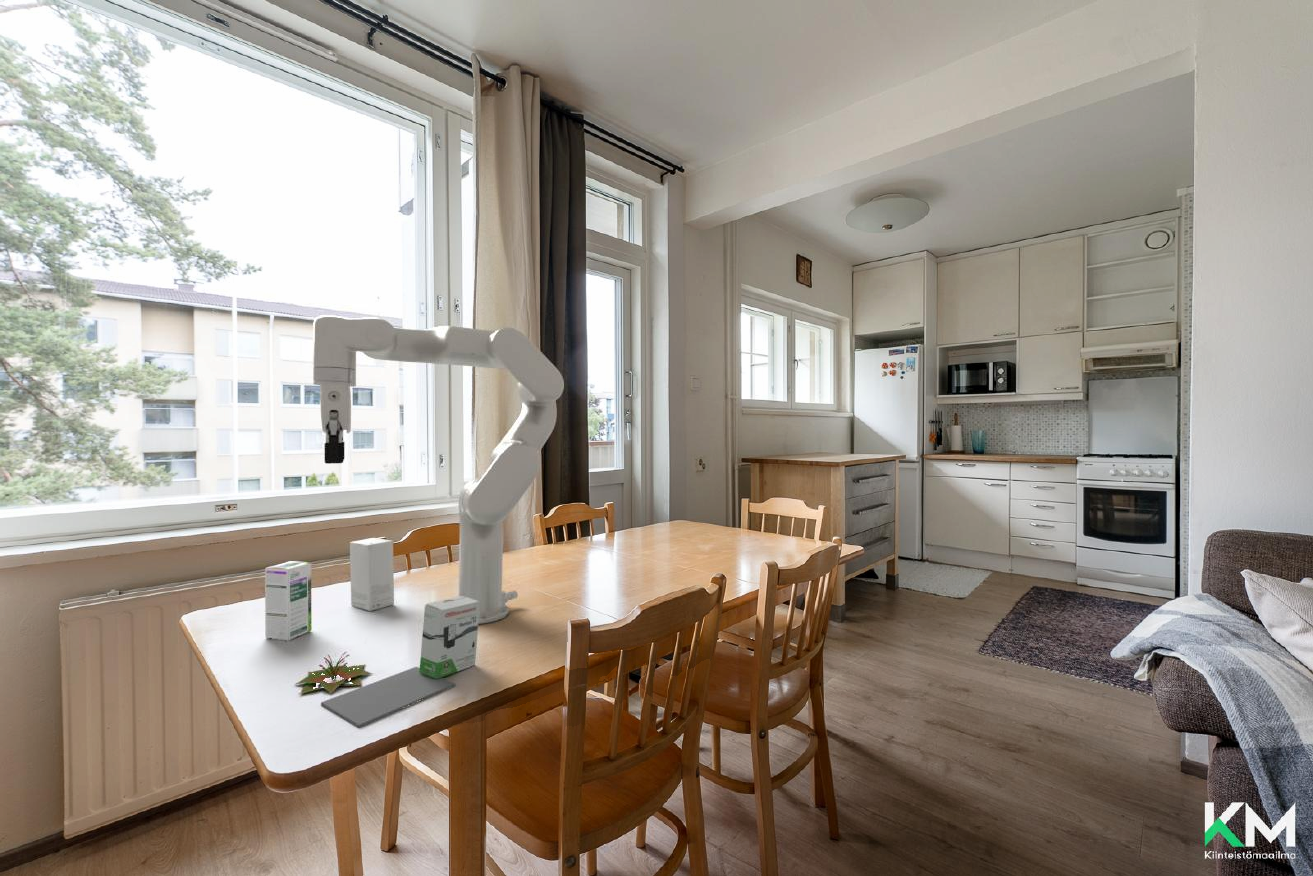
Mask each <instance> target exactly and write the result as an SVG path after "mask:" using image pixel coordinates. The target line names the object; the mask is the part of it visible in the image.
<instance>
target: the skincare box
mask: <svg viewBox="0 0 1313 876" xmlns="http://www.w3.org/2000/svg"><path fill="white" fill-rule="evenodd" d="M349 564H350V606H351V605H352V607H354V608H355V607H356V608H359V609H362V610H365V611H368V612H371V611H376V610H380V609H383V608H386V607H390V606H393V605H394V604H395V586H394V585H395V583H394V582H395V581H394V580H395V579H394V575H395V574H394V540H390V539H389V540H388V539H382V538H379V537H371V538H364V539H360V540H354V541H350V542H349Z"/></svg>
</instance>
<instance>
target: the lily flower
mask: <svg viewBox="0 0 1313 876" xmlns="http://www.w3.org/2000/svg"><path fill="white" fill-rule="evenodd" d="M345 654H346V655H345ZM344 655H345V656H344ZM343 656H344V657H343ZM349 656H350V654H347V651H344V653H343V654H342V655H341V656H340V658H339V659H338V661H336V662H335V661H332V658H331V656H330V655H329V654H327V657H328V658H329V659H328V658H327V657H325V656H324V657H323V660H325V661H324V662H325V663H326V664H327V665H326V666H328V667H327V668H326V667H325V666H324V665H323V664H319V665H318V666H319V667H321V669H319V670H314V671H307V674H308V675H307V676H306V677H304V678H302V679H300V681H298V682H297V683H294V685H295V686H296V685H301V684H306V685H304V686H303V687H302V689H301V690H300V692H299V693H298V695H301V694H304V693H305V694H306V693H309V692H313V691H318V690H322V689H325V690H326V691H328V692H329V694H330V695H331V694H332V693H333V692H334V691H335V690H336V689H337V688H339V687H343V686H363V684H362V680H361V678H359V677H358V676H361V675H363V676H364V675H371V674H372V675H373V674H374V673H373V672H370V671H367V670H365V669H363V668H364V667H365V666H366V664H359V665H350V666H347V665H348V662H345V658H348V657H349ZM335 657H336V653H335ZM344 662H345V663H344ZM342 664H343V665H342ZM353 668H355V669H354V670H353ZM357 668H359V669H357ZM349 670H350V671H349ZM312 673H314V674H315V675H314V674H312ZM322 673H323V674H325V675H321V674H322ZM337 675H339V676H340V677H339V678H341V677H342V678H341V679H342V680H341V679H340V681H339V680H338V682H337V681H335V682H336V683H335V682H331V683H327V682H328V681H327V682H325V681H323V680H324V679H325V678H330V677H331V681H332V680H333V679H334V678H335V679H336V680H337V677H336V676H337ZM334 676H335V677H334ZM343 678H344V679H343ZM349 678H351V680H350V681H347V683H348V682H352V683H353V684H345V682H346V680H347V679H349ZM333 681H334V680H333ZM316 683H321V684H320V687H322V686H323V687H324V688H315V689H313V687H316Z"/></svg>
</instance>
